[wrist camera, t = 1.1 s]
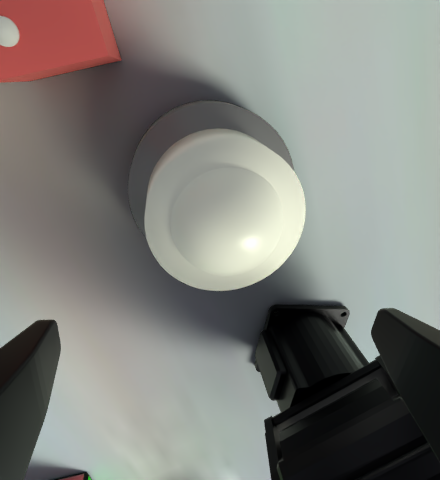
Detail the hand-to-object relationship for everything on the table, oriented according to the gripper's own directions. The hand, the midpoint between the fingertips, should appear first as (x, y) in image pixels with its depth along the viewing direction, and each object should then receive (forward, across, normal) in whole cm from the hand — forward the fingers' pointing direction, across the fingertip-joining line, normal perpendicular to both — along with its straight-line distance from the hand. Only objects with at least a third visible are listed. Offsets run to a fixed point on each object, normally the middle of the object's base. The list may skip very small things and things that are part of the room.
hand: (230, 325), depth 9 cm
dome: (+9, -1, -1) cm, 9 cm away
